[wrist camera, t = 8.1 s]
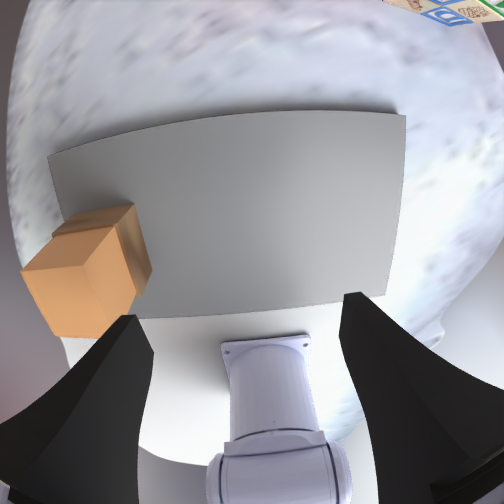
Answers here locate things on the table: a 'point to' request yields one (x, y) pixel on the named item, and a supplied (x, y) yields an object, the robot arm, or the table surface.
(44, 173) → the table surface
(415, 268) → the table surface
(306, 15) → the table surface
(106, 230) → the orange brick
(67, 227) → the walnut base brick
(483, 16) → the stack of blocks
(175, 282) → the slate baseplate
